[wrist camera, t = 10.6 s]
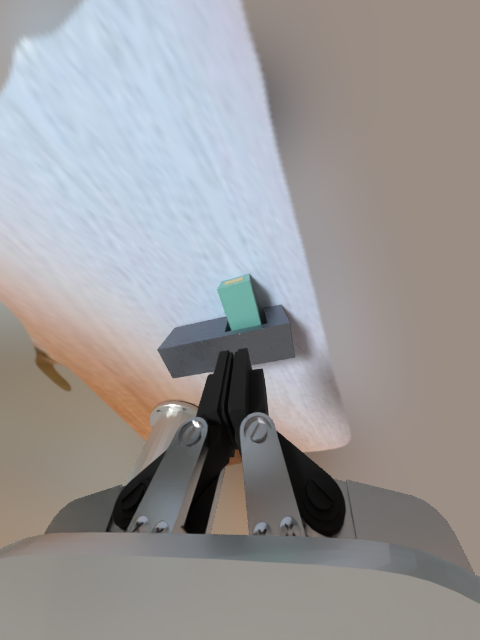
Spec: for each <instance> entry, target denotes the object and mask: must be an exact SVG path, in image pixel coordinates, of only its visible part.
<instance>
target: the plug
mask: <svg viewBox="0 0 480 640" xmlns="http://www.w3.org/2000/svg"><path fill="white" fill-rule="evenodd" d="M217 291H218V293H219V296H220V299H221V302H222V305H223V308H224V311H225V314H226V316H227V319H228V322H229V325H230V328H231V331H233V330H238V329H243V328H248V327H253V326H257V325H262V321H261V317H260V314H259V310H258V306H257V302H256V298H255V294H254V290H253V287H252V283H251V279H250V275H249V274H248V275H244V276H241V277H237V278H233V279H230V280H226V281H223V282H221V284H220V285H219V287H218V289H217Z"/></svg>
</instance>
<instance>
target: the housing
mask: <svg viewBox="0 0 480 640" xmlns="http://www.w3.org/2000/svg"><path fill="white" fill-rule="evenodd" d="M264 310H265V315H266V319H267V324H262V325H257V326H253V327H248V328H243V329H238V330H233V331H231V328H230V325H229V322H228V319H227V317H222V318H218V319H213V320H209V321H204V322H199V323H195V324H190V325H186V326H181V327H177V328H174V330H173V331H172V332H171V333H170V335H169V336H168V337H167V338H166V340H165V341H164V342H163V343H162V344H161V346H160V347H159V348H158V349H157V350H158V352H159V354H160V356H161V357H162V359H163V361H164V363H165V365H166V367H167V368H168V370H169V372H170V374H171V376H172V378H178V377H184V376H190V375H195V374H201V373H207V372H213V371H215V367H216V363H217V359H218V356H219V352H220V351H226V350H229V351H230V352H233V354H235V352H237V351H238V349H242V348H247V349H248V353H249V357H250V362H251V365H253V364H259V363H265V362H271V361H276V360H282V359H288V358H294V357H295V354H294V347H293V340H292V334H291V327H290V322H289V320H288V318H287V316H286V314H285V312H284V310H283V308H282V306H281V305H277V306H273V307H268V308H264Z"/></svg>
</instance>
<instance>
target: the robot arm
mask: <svg viewBox="0 0 480 640" xmlns="http://www.w3.org/2000/svg"><path fill="white" fill-rule="evenodd" d="M150 424H151V427H152V430H151V432H150V434H149V436H148V438H147V440H146V442H145V444H144V446H143V448H142V450H141V452H140V454H139V456H138V458H137V460H136V462H135V464H134V466H133V468H132V470H131V472H130V474H129V476H128V478H127V480H126V482H125V484H124V486H123V485H118V486H115V487H112V488H109V489H106V490H103V491H100V492H97V493H94V494H91V495H88V496H85V497H81V498H78V499H76V500H74V501H72V502H70V503H68V504H67V505H66V506H65V507H63V508H62V509H61V510H60V511H59V513H58V514H57V515H56V516H55V517H54V518H53V520H52V521H51V523H50V525H49V526H48V528H47V530H46V532H45V533H44V534H43V535H37V536H33V537H28V538H25V539H22V540H19V541H16V542H14V543H12V544H9V545H7V546H5V547H3V548H1V549H0V640H480V577H479V576H477V575H475V573H474V572H473V569H472V567H471V565H470V563H469V561H468V559H467V557H466V555H465V553H464V551H463V549H462V547H461V545H460V543H459V541H458V539H457V537H456V535H455V533H454V531H453V530H452V528H451V527H450V525H449V524H448V522H447V521H446V519H445V518H444V517H443V516H442V515H441V514H440V513H439V512H438V511H437V510H436V509H435V508H434V507H432V506H431V505H429V504H428V503H427V502H425V501H424V500H422V499H419V498H417V497H414V496H411V495H407V494H403V493H399V492H395V491H391V490H387V489H383V488H379V487H375V486H370V485H367V484H362V483H358V482H354V481H350V480H346V482H345V481H341V480H337V479H333V478H332V477H331V476H330V475H328V473H326V472H325V471H324V470H323V469H322V468H320V467H319V466H318V465H317V464H316V463H314V462H313V461H312V460H311V459H310V458H308V457H307V456H306V455H305V454H304V453H303V452H301V451H300V450H299V449H298V448H297V447H295V446H294V445H293V444H292V443H291V442H289V441H288V440H287V439H286V438H285V437H284V436H282V435H281V434H280V433H279V432H278V431H276V428H275V425H274V423H273V420H272V419H271V418H270V417H269V415H268V404H267V394H266V386H265V379H264V373H263V369H255V370H252V367H251V362H250V357H249V353H248V349H247V348H242V349H238V351H237V352H235V354H233V352H230V351H229V350H226V351H220V352H219V356H218V359H217V363H216V367H215V371H214V374H210V375H208V377H207V380H206V384H205V387H204V390H203V394H202V397H201V401H200V404H199V407H198V408H197V407H196V406H194V405H191V404H189V403H185V402H180V401H169V402H165V403H162V404H159V405H158V406H156V407H155V408H154V410H153V411H152V413H151V415H150ZM235 449H239V452H240V455H241V458H242V463H243V474H244V485H245V496H246V508H247V518H248V530H249V535H218V534H211V530H212V526H213V521H214V517H215V513H216V508H217V504H218V500H219V495H220V490H221V486H222V481H223V477H224V471H225V466H226V465H227V464H228V463H229V458H230V457H234V454H235Z"/></svg>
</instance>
